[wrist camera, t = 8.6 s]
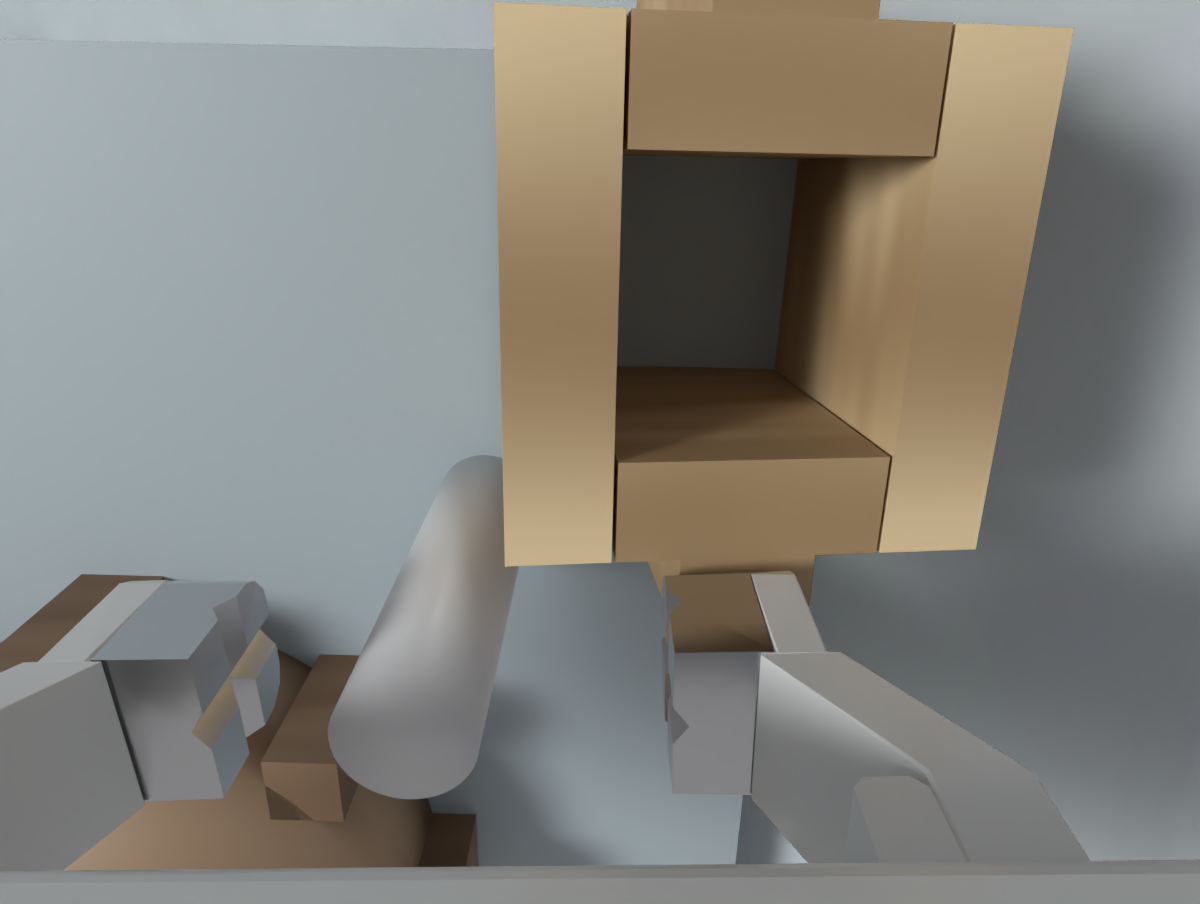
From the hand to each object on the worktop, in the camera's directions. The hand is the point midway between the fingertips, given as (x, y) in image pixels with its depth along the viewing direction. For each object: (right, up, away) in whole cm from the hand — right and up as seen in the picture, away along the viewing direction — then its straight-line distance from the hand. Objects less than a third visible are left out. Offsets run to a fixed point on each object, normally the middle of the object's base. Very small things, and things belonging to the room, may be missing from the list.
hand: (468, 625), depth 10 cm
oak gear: (+3, +5, +3) cm, 6 cm away
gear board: (-4, -2, +7) cm, 9 cm away
